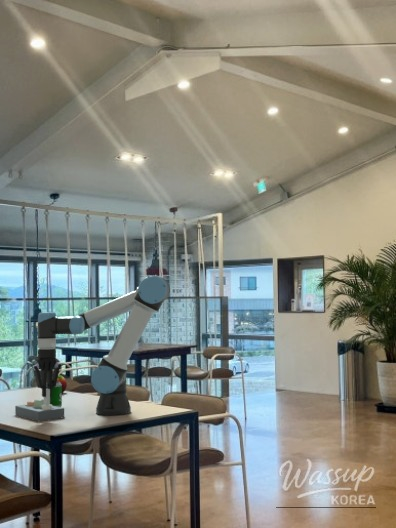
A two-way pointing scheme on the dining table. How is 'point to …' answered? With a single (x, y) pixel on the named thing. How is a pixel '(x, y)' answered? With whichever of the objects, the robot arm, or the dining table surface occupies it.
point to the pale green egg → (38, 403)
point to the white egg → (46, 407)
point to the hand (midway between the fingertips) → (46, 404)
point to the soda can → (56, 395)
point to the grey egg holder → (39, 413)
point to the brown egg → (30, 403)
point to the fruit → (62, 382)
